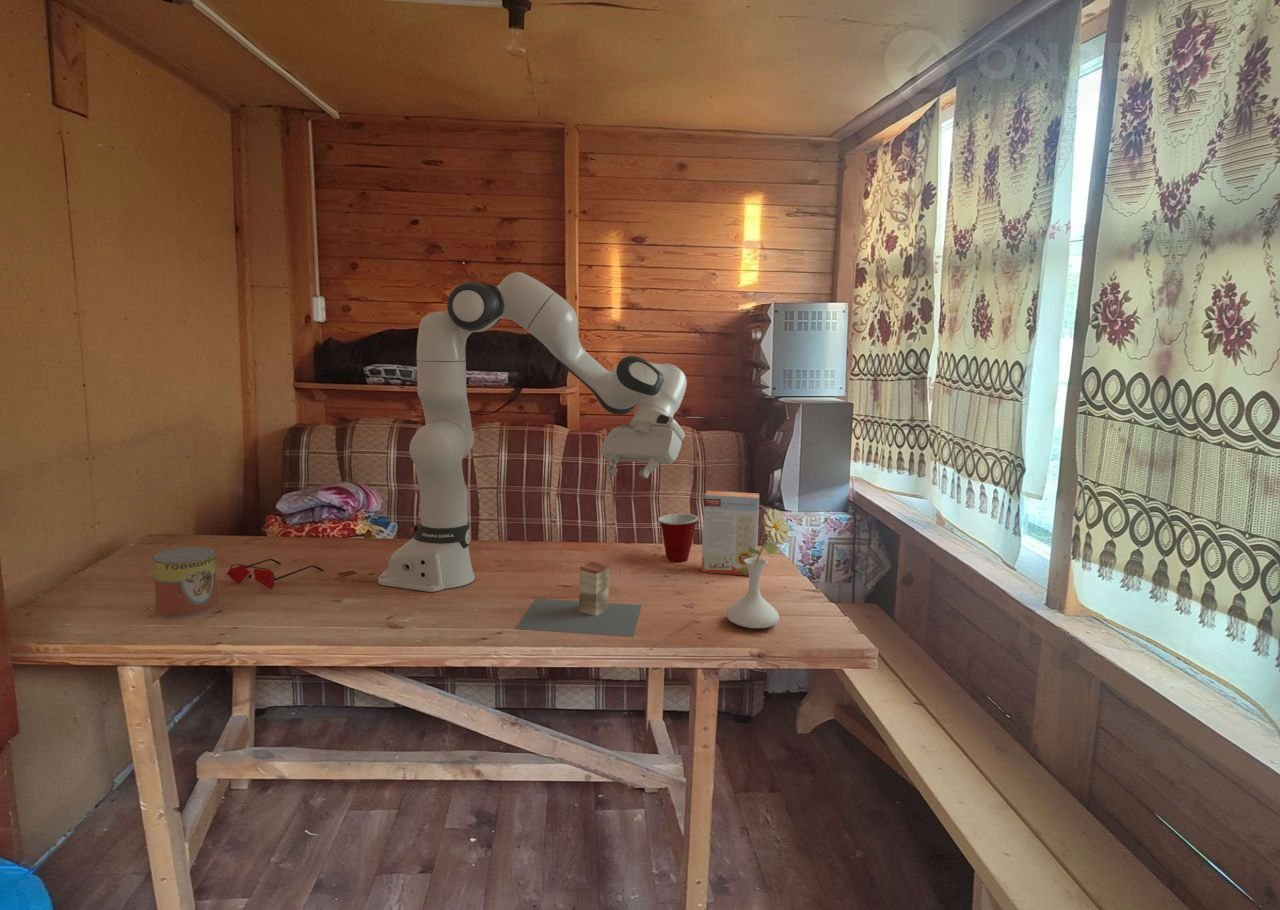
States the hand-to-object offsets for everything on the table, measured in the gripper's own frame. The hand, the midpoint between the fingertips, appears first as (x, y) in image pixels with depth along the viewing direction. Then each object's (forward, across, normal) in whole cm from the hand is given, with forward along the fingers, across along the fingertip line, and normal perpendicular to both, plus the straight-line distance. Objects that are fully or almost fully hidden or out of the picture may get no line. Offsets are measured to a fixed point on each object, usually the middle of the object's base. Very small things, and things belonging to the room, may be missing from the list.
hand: (626, 475), depth 170 cm
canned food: (+63, -65, -36) cm, 98 cm away
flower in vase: (+18, +28, +27) cm, 43 cm away
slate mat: (+33, 0, +7) cm, 33 cm away
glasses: (+48, -73, -19) cm, 89 cm away
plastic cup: (0, -11, +44) cm, 45 cm away
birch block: (+29, 0, +9) cm, 31 cm away
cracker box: (0, +5, +46) cm, 46 cm away
